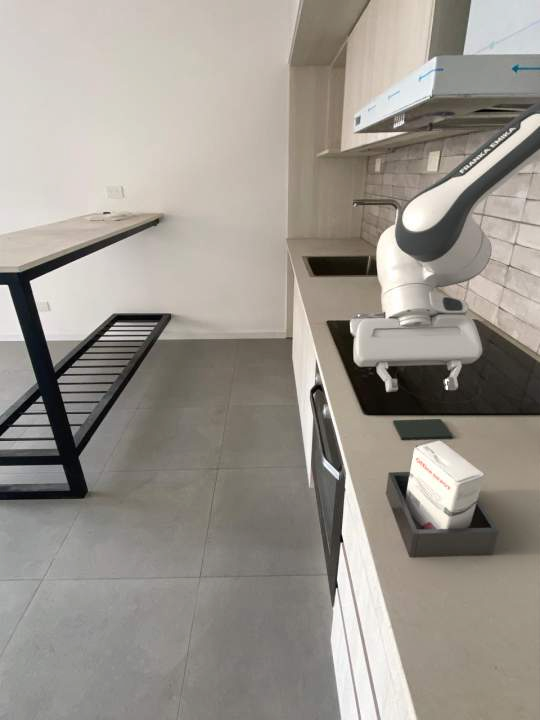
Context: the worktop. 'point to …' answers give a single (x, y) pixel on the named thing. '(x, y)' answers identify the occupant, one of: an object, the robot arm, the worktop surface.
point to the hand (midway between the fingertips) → (422, 390)
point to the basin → (439, 540)
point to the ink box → (442, 487)
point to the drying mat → (422, 429)
